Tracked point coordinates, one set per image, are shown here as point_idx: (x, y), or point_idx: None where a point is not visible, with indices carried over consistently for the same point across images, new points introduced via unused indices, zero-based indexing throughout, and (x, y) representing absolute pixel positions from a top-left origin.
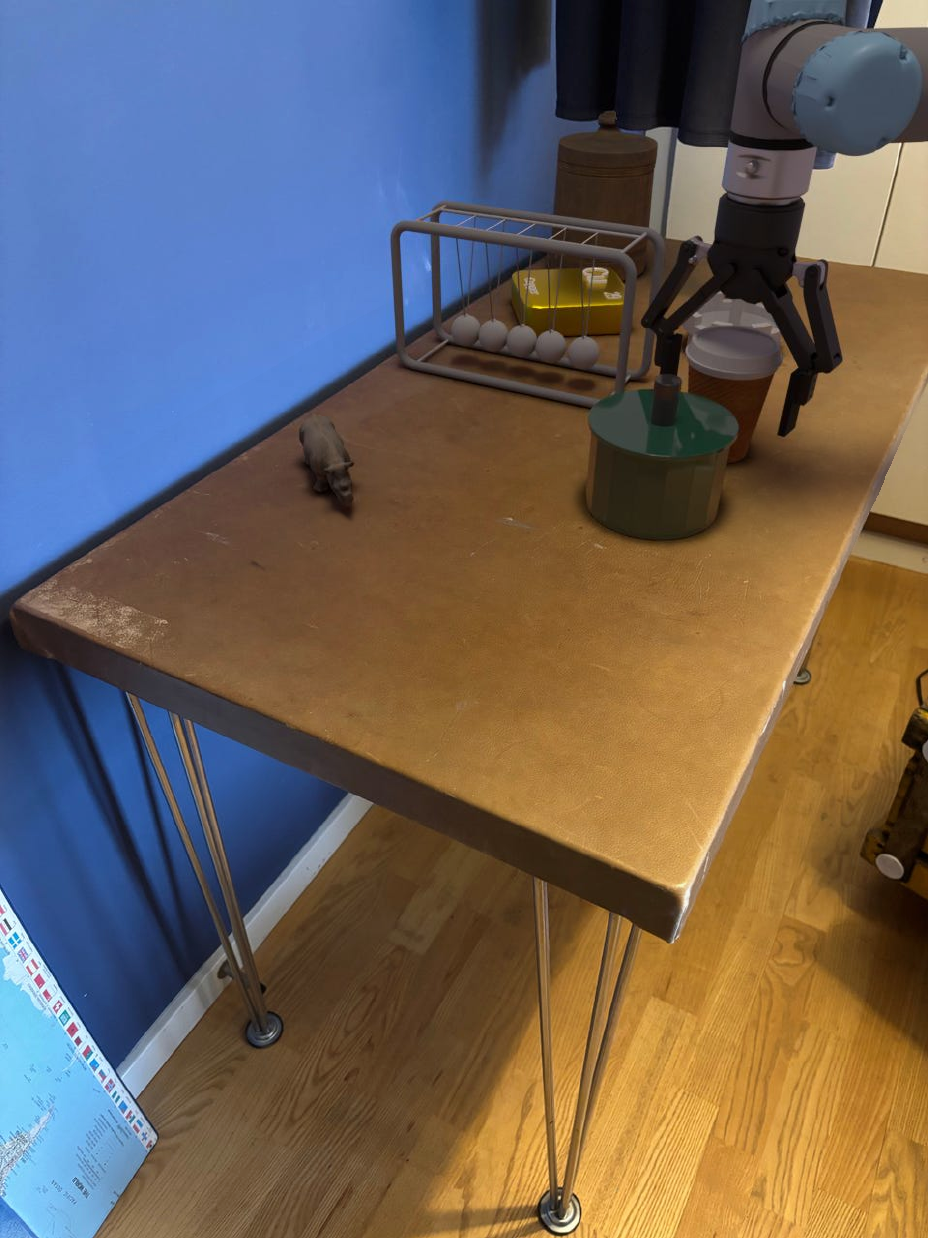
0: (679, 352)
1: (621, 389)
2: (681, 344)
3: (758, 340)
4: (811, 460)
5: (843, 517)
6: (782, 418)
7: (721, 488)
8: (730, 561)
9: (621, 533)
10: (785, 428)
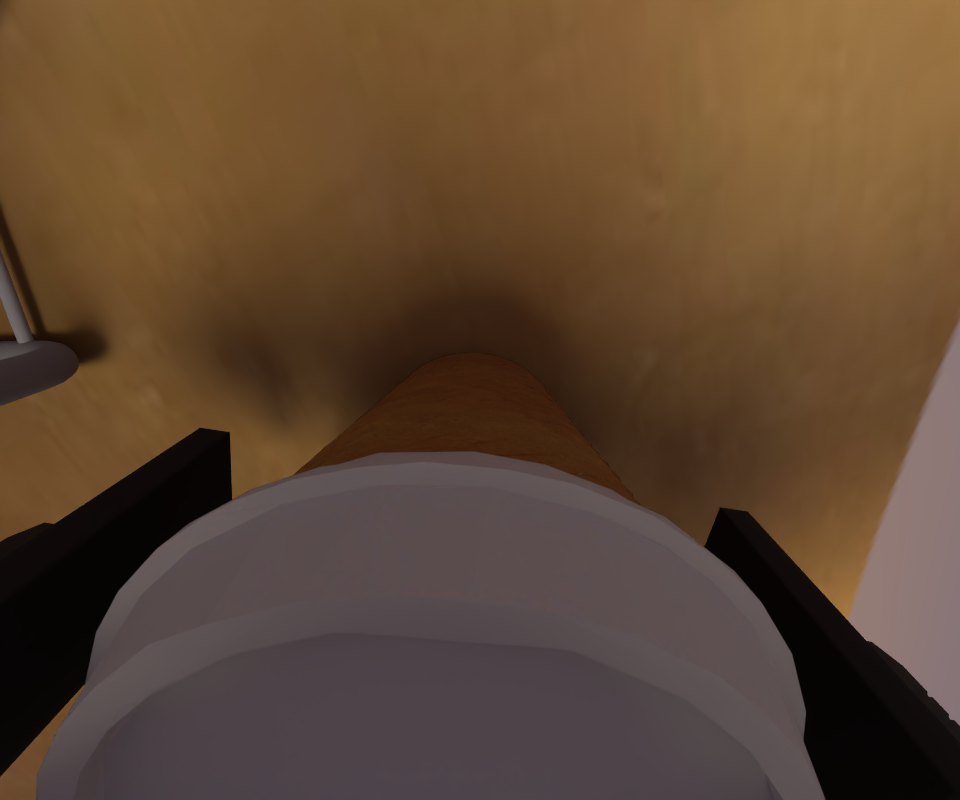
0: (76, 563)
1: (26, 394)
2: (26, 591)
3: (593, 729)
4: (754, 368)
5: (836, 600)
6: None
7: None
8: None
9: None
10: None
